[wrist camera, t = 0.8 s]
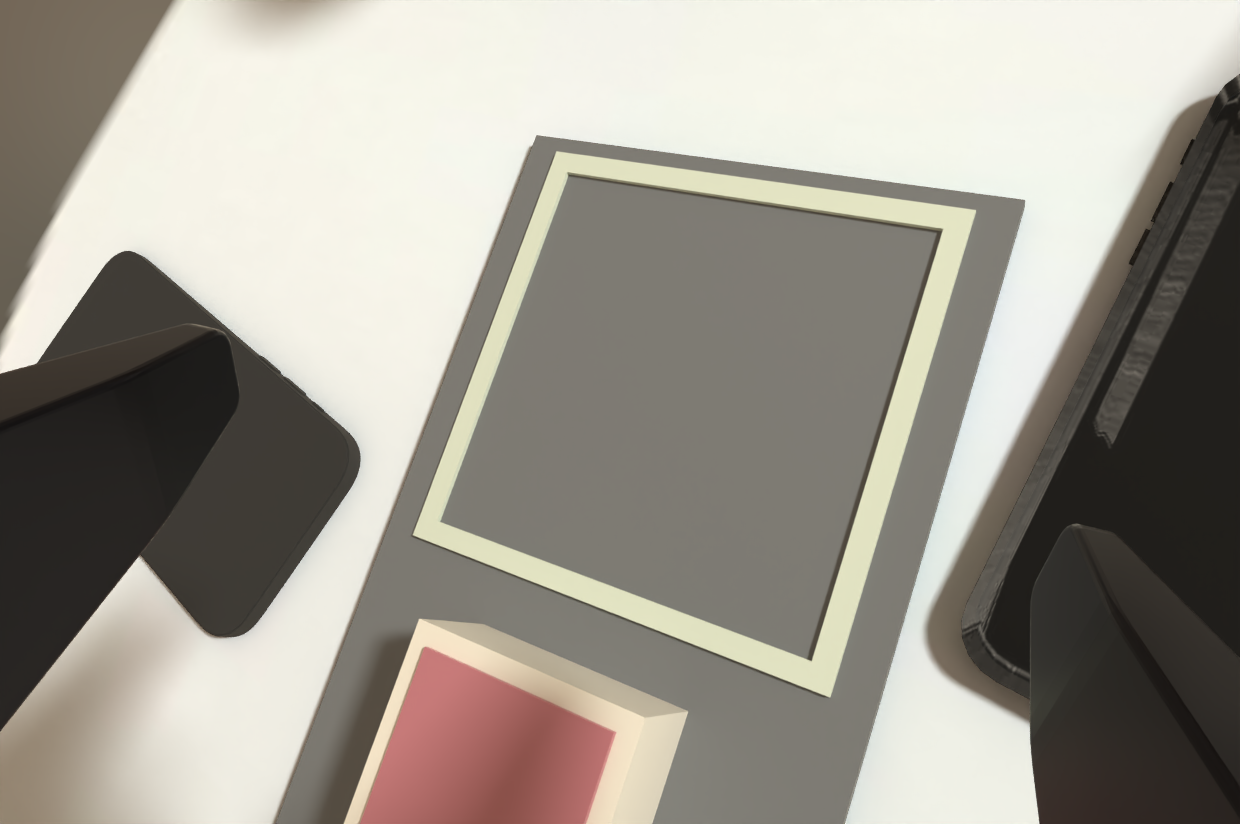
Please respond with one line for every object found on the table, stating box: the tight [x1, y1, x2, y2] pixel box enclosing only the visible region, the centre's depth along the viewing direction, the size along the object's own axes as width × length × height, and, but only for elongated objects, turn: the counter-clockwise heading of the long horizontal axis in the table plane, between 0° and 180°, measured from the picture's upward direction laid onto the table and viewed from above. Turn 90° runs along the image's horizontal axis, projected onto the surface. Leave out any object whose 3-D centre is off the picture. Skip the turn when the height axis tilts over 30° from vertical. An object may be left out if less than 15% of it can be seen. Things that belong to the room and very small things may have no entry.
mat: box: [276, 135, 1025, 824], centre depth 23 cm, size 24×14×1 cm, turn 160°
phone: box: [37, 251, 360, 637], centre depth 30 cm, size 7×1×15 cm
